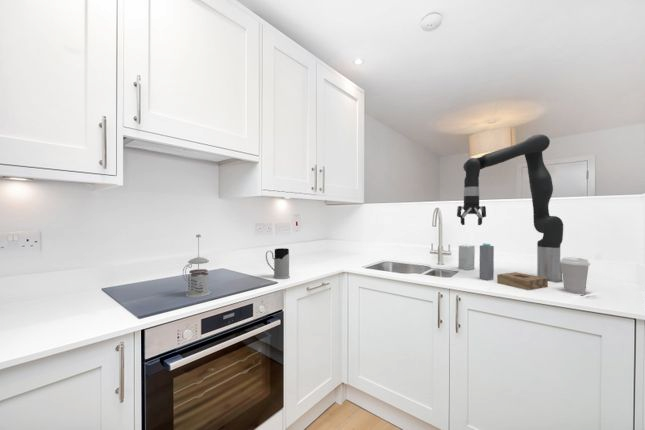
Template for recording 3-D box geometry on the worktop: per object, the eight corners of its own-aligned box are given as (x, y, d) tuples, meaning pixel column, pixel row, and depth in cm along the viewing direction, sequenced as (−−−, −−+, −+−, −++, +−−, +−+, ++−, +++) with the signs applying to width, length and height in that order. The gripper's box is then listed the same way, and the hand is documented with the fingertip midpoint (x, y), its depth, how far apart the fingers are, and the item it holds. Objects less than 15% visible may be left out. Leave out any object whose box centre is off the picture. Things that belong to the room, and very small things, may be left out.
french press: (202, 298, 110) (202, 235, 110) (176, 296, 112) (176, 235, 112) (215, 291, 120) (215, 233, 120) (191, 289, 122) (191, 233, 121)
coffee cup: (582, 298, 112) (582, 261, 112) (555, 291, 121) (555, 257, 121) (594, 295, 116) (595, 259, 116) (567, 289, 124) (567, 256, 124)
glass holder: (284, 279, 141) (284, 250, 141) (261, 277, 146) (261, 249, 146) (292, 276, 149) (292, 248, 149) (270, 274, 154) (270, 247, 154)
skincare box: (465, 267, 176) (465, 244, 176) (475, 269, 171) (475, 245, 171) (457, 269, 171) (458, 245, 171) (467, 270, 166) (467, 246, 166)
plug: (485, 279, 143) (485, 243, 143) (493, 281, 139) (493, 244, 139) (479, 280, 141) (479, 243, 141) (487, 282, 137) (487, 244, 137)
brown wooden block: (515, 282, 138) (515, 272, 138) (547, 289, 125) (547, 278, 125) (497, 284, 132) (497, 274, 132) (528, 292, 120) (528, 280, 120)
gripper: (460, 195, 148) (460, 225, 148) (488, 195, 147) (488, 225, 147) (455, 196, 156) (455, 224, 156) (481, 196, 154) (481, 224, 154)
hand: (471, 225), depth 151 cm, fingers open, 8 cm apart
